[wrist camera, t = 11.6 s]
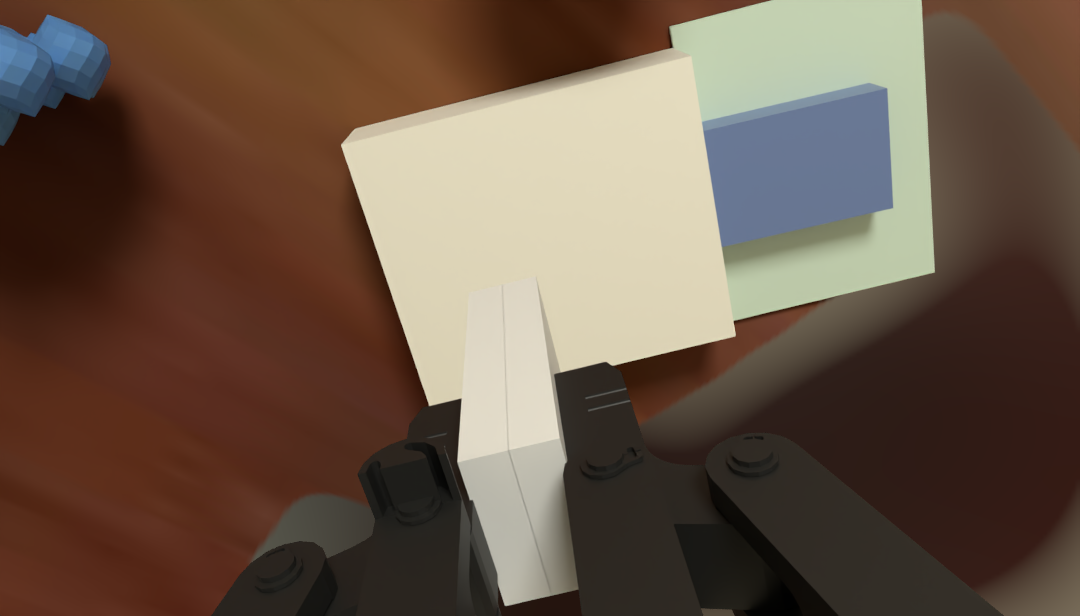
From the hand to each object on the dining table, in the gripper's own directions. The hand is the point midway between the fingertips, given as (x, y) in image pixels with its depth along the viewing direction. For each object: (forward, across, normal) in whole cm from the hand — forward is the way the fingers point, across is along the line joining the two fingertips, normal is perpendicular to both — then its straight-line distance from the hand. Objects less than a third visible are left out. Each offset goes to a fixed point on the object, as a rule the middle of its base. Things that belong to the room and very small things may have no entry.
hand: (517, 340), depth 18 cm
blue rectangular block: (+24, +14, -5) cm, 28 cm away
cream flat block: (+24, +1, -5) cm, 25 cm away
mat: (+24, +15, -5) cm, 29 cm away
